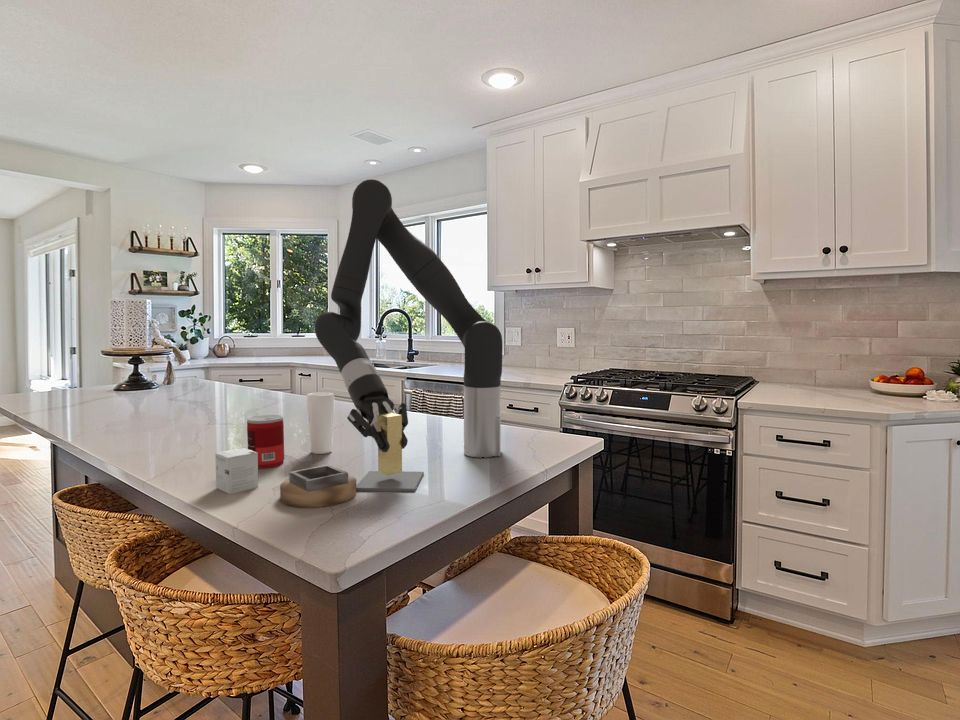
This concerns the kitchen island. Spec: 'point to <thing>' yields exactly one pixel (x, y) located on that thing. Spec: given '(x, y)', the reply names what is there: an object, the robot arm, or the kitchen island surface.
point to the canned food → (266, 439)
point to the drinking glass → (320, 421)
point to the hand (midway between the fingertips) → (395, 447)
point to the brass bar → (391, 444)
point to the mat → (389, 481)
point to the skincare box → (236, 470)
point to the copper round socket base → (317, 487)
